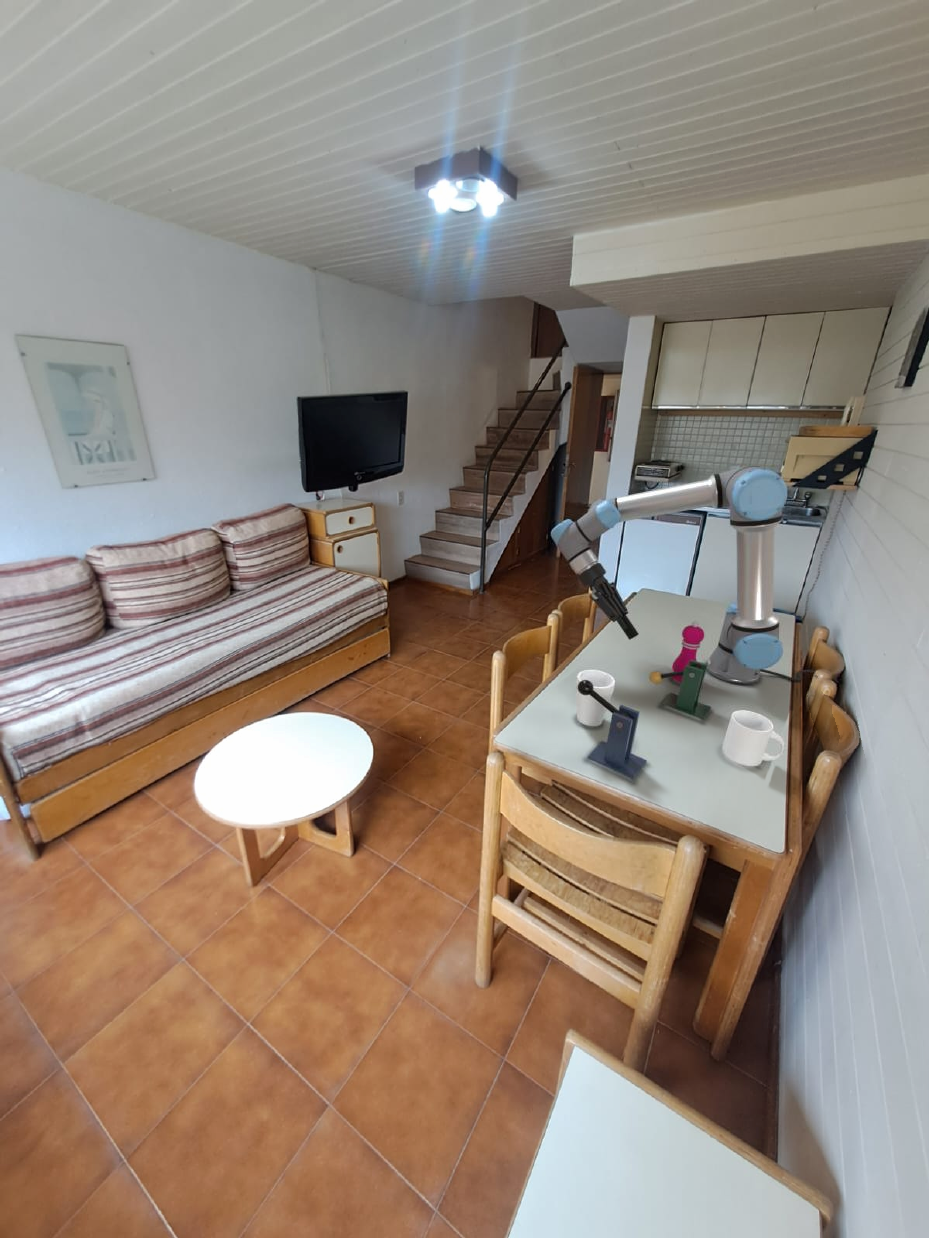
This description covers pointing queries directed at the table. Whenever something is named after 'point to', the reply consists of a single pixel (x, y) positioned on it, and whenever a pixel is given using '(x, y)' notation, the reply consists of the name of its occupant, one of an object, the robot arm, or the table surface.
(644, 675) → the table surface
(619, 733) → the blue bracket
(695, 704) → the green bracket
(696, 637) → the pepper mill
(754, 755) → the mug
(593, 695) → the black lever
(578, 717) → the foam cup
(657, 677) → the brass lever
